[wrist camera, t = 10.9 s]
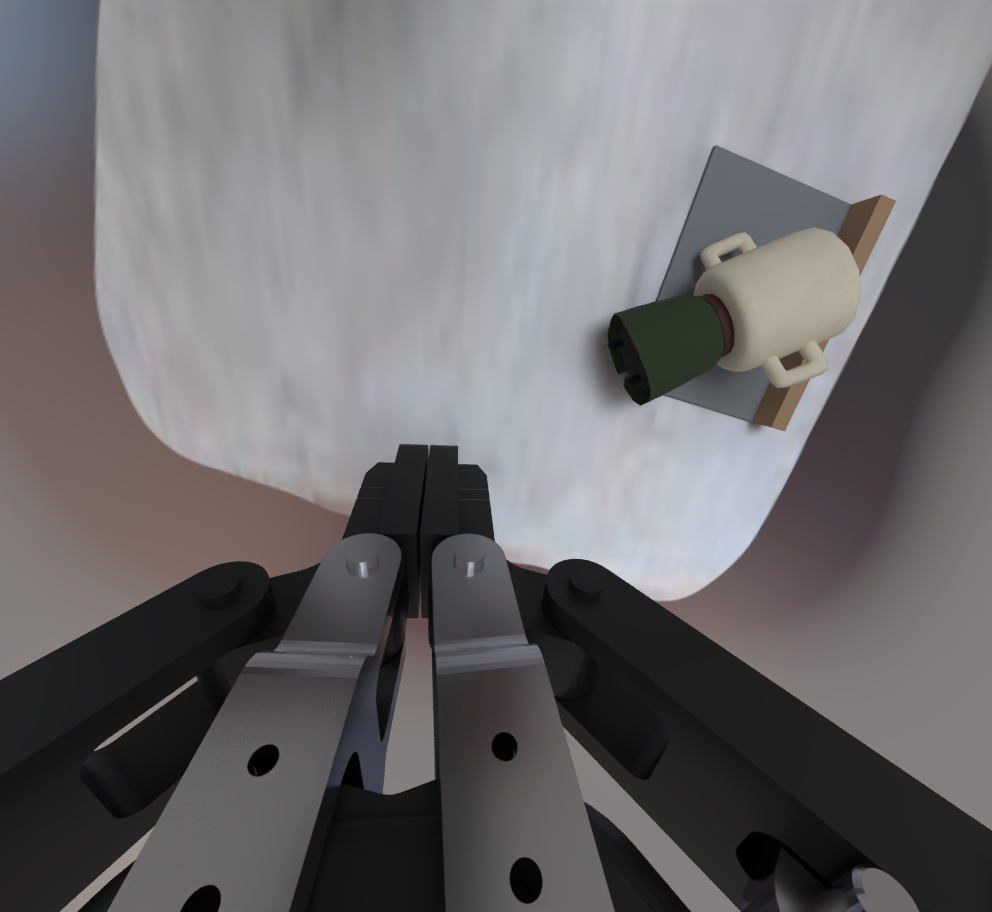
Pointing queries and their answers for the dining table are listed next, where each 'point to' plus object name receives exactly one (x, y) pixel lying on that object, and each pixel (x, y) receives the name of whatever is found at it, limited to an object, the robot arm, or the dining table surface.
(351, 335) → the dining table surface
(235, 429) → the dining table surface
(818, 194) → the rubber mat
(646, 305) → the character mug
